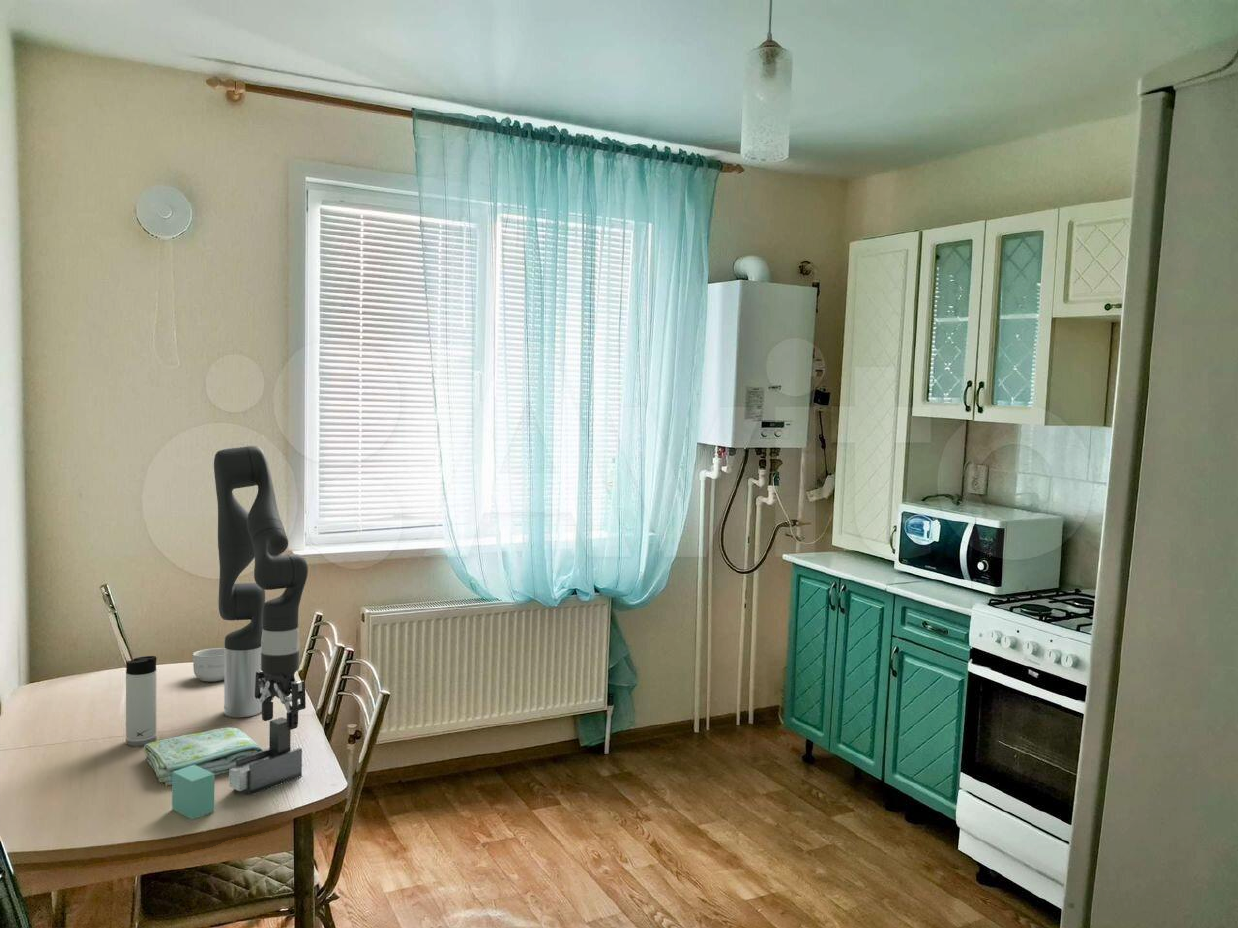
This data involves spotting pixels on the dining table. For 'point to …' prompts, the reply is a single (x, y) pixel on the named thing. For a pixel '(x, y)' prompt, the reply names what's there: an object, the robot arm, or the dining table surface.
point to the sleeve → (271, 769)
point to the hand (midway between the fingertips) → (279, 724)
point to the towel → (199, 752)
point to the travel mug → (141, 701)
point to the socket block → (193, 791)
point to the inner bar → (277, 746)
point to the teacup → (209, 664)
